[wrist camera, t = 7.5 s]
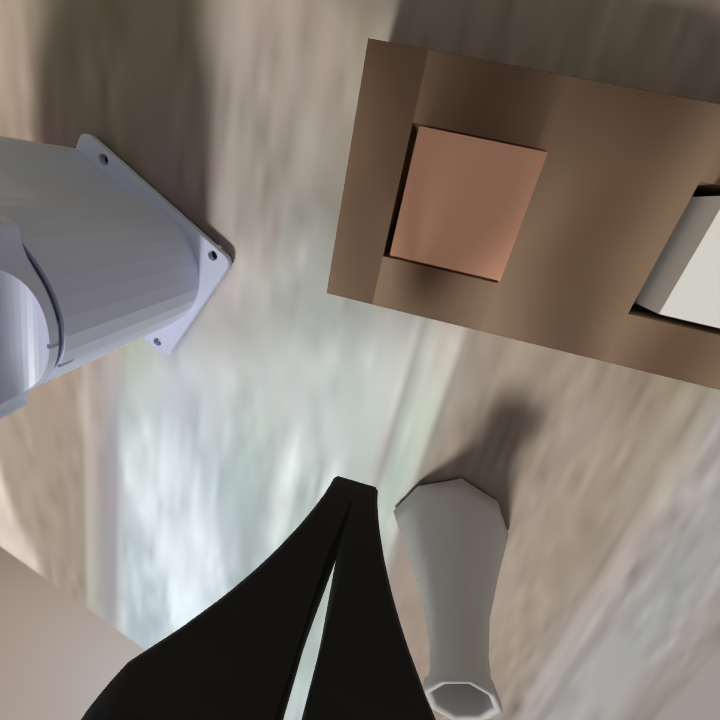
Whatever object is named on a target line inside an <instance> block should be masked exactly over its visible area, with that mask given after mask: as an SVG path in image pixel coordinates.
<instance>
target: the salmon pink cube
mask: <svg viewBox="0 0 720 720" xmlns="http://www.w3.org/2000/svg"><path fill="white" fill-rule="evenodd" d="M547 153H548V152H544V151H539V150H534V149H529V148H524V147H519V146H514V145H509V144H505V143H500V142H495V141H490V140H485V139H480V138H475V137H470V136H466V135H461V134H456V133H451V132H446V131H441V130H436V129H431V128H427V127H422V126H419V129H418V134H417V138H416V142H415V147H414V151H413V155H412V160H411V164H410V168H409V173H408V177H407V182H406V186H405V190H404V195H403V199H402V203H401V208H400V212H399V216H398V221H397V225H396V230H395V234H394V238H393V243H392V247H391V251H390V255H391V256H396V257H400V258H404V259H408V260H413V261H417V262H421V263H426V264H430V265H434V266H438V267H443V268H447V269H451V270H455V271H460V272H464V273H468V274H472V275H477V276H481V277H485V278H489V279H494V280H498V281H501V278H502V275H503V272H504V270H505V267H506V264H507V262H508V259H509V256H510V253H511V251H512V248H513V245H514V243H515V240H516V237H517V235H518V232H519V229H520V226H521V224H522V221H523V218H524V216H525V213H526V210H527V207H528V205H529V202H530V199H531V197H532V194H533V191H534V188H535V186H536V183H537V180H538V178H539V175H540V172H541V169H542V167H543V164H544V161H545V159H546V156H547Z"/></svg>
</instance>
